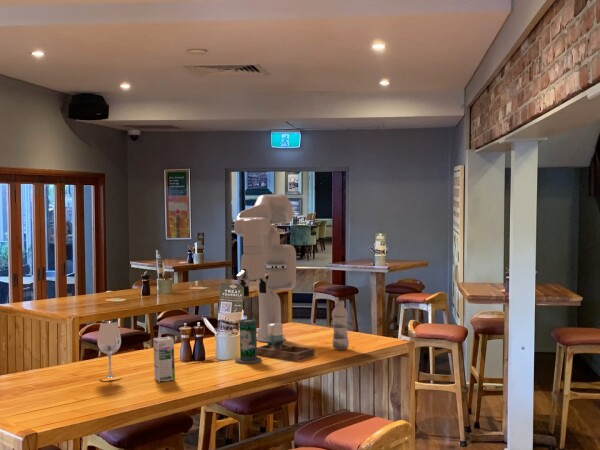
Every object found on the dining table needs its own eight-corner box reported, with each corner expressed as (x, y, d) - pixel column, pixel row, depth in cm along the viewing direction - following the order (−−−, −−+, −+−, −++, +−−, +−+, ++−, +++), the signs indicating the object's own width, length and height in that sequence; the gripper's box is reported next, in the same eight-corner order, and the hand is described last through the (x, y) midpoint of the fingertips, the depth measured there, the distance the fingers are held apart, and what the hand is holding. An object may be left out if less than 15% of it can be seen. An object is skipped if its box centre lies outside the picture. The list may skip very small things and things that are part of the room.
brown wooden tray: (256, 354, 270) (256, 347, 270) (274, 350, 279) (274, 342, 279) (297, 361, 257) (297, 353, 257) (314, 356, 266) (314, 348, 266)
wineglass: (126, 376, 239) (124, 320, 239) (113, 382, 232) (111, 324, 231) (107, 375, 242) (105, 319, 241) (94, 380, 234) (92, 323, 234)
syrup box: (158, 382, 230) (157, 340, 230) (154, 379, 235) (153, 337, 235) (175, 380, 233) (174, 338, 232) (170, 376, 238) (169, 335, 238)
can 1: (237, 360, 259) (237, 321, 258) (245, 356, 264) (244, 318, 264) (252, 361, 256) (251, 321, 256) (259, 358, 262) (258, 319, 261)
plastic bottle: (349, 351, 274) (348, 301, 273) (332, 351, 274) (331, 302, 273) (348, 347, 280) (347, 299, 279) (332, 348, 280) (331, 299, 280)
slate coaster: (229, 361, 259) (229, 360, 259) (247, 356, 267) (247, 355, 267) (249, 365, 253) (248, 363, 253) (266, 360, 261) (266, 358, 261)
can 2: (264, 354, 271) (264, 324, 270) (274, 351, 275) (274, 322, 275) (276, 356, 267) (275, 326, 266) (286, 353, 272) (285, 323, 271)
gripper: (261, 248, 271) (262, 291, 272) (230, 252, 257) (231, 296, 258) (275, 249, 266) (276, 292, 267) (244, 252, 253) (245, 298, 253)
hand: (254, 294), depth 262 cm, fingers open, 9 cm apart
